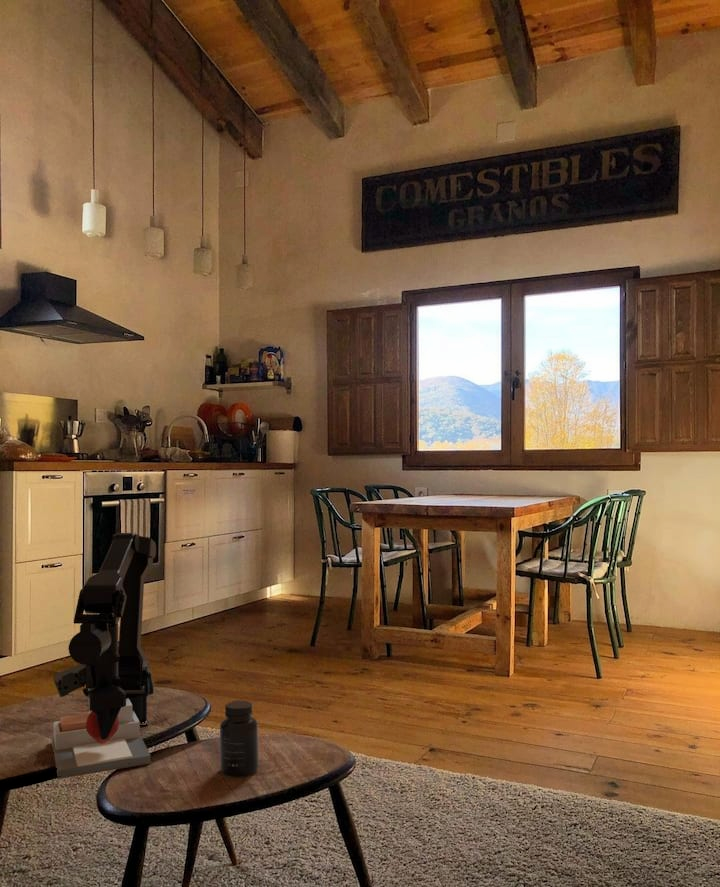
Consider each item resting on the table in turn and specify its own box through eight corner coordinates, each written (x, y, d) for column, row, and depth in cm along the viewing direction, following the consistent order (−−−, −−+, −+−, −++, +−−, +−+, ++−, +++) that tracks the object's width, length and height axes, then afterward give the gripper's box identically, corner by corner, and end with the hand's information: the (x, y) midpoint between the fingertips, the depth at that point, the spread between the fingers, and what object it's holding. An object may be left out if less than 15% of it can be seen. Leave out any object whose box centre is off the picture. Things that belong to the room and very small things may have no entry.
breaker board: (134, 730, 162) (134, 708, 162) (150, 763, 145) (150, 739, 145) (51, 742, 156) (51, 720, 156) (58, 778, 138) (58, 753, 138)
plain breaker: (128, 717, 159) (128, 698, 159) (132, 725, 155) (132, 705, 155) (102, 721, 157) (102, 701, 157) (106, 729, 153) (106, 708, 153)
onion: (118, 736, 150) (118, 694, 150) (119, 746, 145) (119, 703, 145) (86, 740, 148) (86, 697, 148) (85, 750, 143) (85, 706, 143)
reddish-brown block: (87, 733, 156) (87, 713, 156) (89, 742, 152) (89, 721, 152) (60, 737, 154) (60, 717, 154) (62, 746, 149) (62, 725, 149)
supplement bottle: (227, 761, 146) (227, 697, 146) (262, 764, 145) (262, 699, 145) (214, 777, 139) (214, 709, 139) (251, 779, 138) (251, 711, 138)
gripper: (52, 643, 152) (52, 724, 151) (59, 667, 135) (59, 758, 135) (112, 637, 156) (112, 715, 156) (126, 660, 139) (126, 748, 139)
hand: (102, 733), depth 146 cm, fingers closed on onion, 6 cm apart
